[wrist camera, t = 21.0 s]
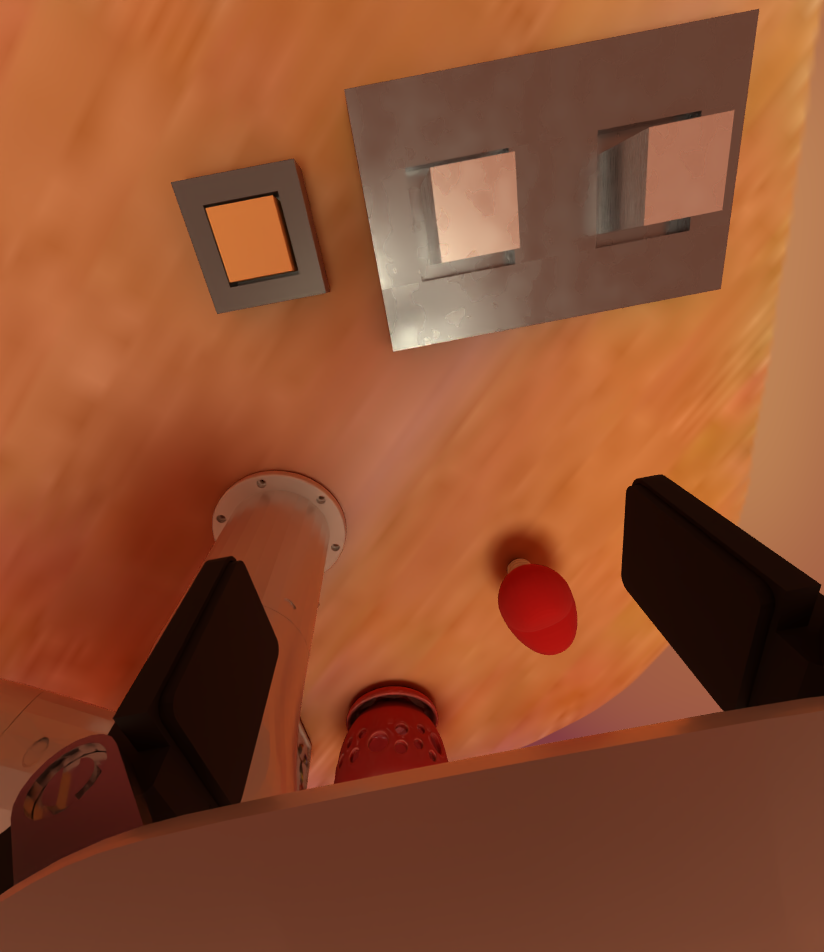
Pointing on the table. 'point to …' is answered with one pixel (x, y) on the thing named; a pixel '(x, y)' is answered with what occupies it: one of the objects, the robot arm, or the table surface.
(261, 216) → the button
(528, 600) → the light bulb
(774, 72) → the table surface
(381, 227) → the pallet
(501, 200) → the seated billet
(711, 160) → the block
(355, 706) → the plant pot
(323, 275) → the button housing
